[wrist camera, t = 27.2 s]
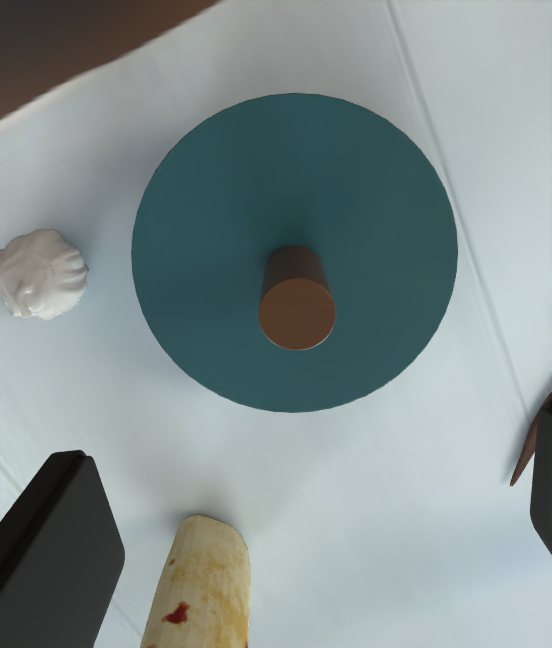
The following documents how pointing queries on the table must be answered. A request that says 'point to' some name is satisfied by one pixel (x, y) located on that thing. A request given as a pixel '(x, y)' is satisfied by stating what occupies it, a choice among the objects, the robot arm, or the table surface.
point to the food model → (202, 590)
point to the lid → (294, 252)
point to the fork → (527, 447)
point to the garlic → (41, 275)
